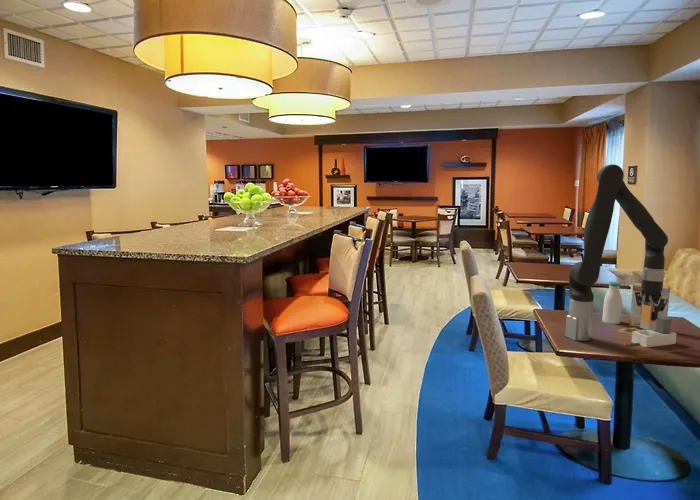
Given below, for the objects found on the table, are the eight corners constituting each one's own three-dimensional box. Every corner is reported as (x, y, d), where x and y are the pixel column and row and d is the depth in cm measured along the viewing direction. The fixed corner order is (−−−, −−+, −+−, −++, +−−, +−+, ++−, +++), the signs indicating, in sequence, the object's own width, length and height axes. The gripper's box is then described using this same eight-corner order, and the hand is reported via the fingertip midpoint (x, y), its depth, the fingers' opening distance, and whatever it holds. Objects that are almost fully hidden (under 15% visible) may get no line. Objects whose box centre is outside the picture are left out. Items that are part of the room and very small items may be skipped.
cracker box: (666, 330, 217) (671, 286, 214) (663, 333, 212) (668, 288, 209) (631, 324, 226) (636, 281, 223) (628, 326, 222) (632, 283, 219)
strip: (634, 349, 191) (636, 323, 190) (620, 344, 198) (622, 318, 196) (675, 344, 198) (678, 319, 196) (660, 339, 204) (662, 314, 203)
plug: (648, 330, 194) (650, 306, 193) (640, 327, 198) (642, 304, 196) (655, 329, 195) (658, 306, 194) (647, 326, 199) (649, 303, 198)
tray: (635, 339, 204) (635, 335, 204) (618, 332, 213) (618, 329, 212) (651, 337, 207) (651, 333, 206) (634, 331, 215) (634, 327, 215)
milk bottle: (623, 325, 224) (627, 284, 221) (607, 324, 224) (610, 284, 221) (614, 320, 232) (618, 280, 229) (599, 320, 232) (602, 280, 229)
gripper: (630, 275, 199) (627, 314, 202) (661, 282, 186) (657, 324, 188) (644, 274, 201) (640, 313, 204) (675, 281, 188) (671, 323, 190)
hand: (648, 318), depth 196 cm, fingers closed on plug, 4 cm apart
